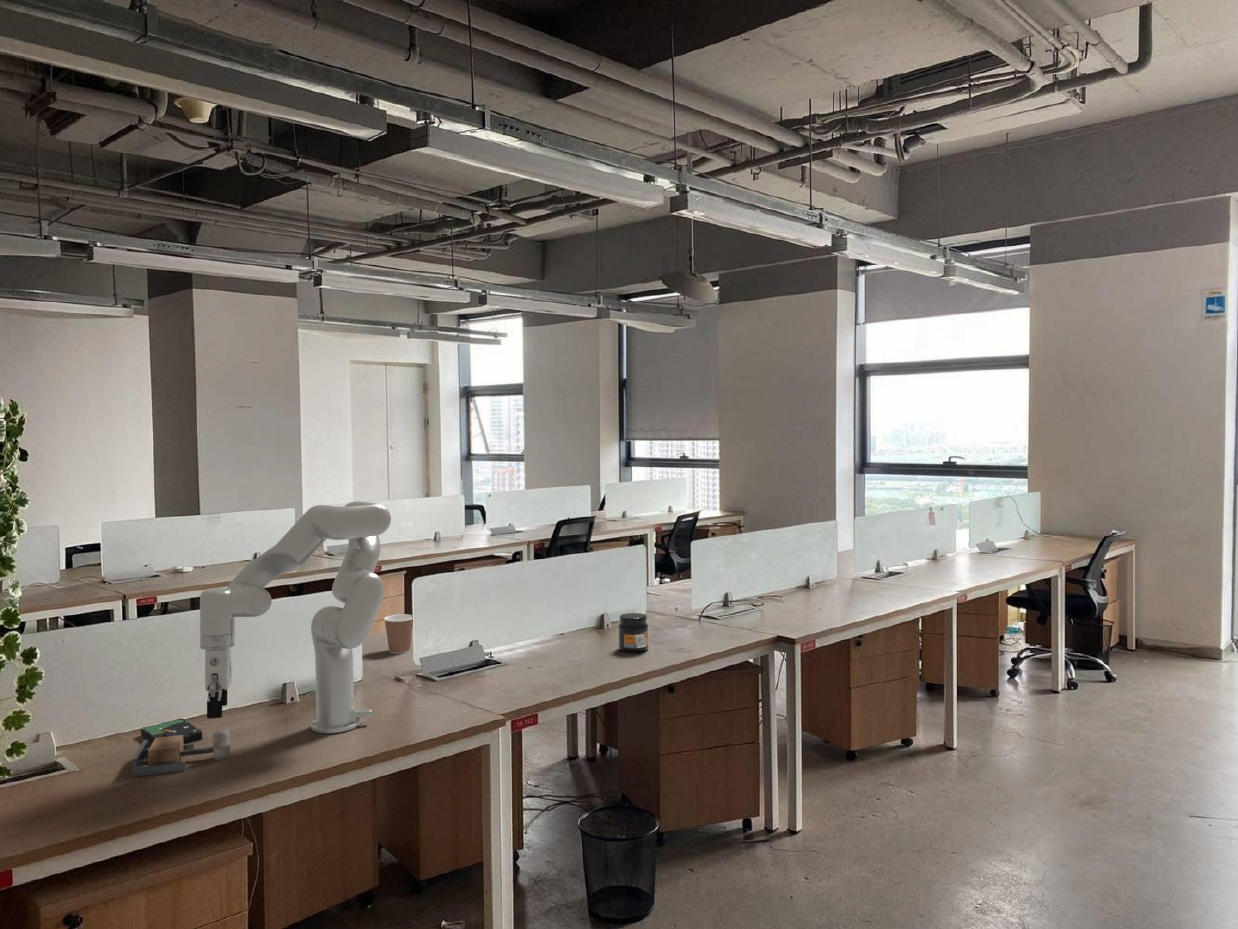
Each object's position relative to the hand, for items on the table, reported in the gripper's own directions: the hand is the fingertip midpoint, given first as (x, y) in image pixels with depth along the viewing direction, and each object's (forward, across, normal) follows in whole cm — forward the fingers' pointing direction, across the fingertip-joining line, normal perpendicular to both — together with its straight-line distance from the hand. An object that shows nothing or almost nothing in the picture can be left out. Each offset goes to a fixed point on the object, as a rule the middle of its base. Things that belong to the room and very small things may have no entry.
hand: (217, 711), depth 210 cm
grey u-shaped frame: (+12, +1, +12) cm, 16 cm away
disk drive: (+12, +19, +13) cm, 26 cm away
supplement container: (+7, +62, -126) cm, 141 cm away
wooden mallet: (+11, 0, +6) cm, 13 cm away
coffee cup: (+9, +88, -48) cm, 101 cm away
